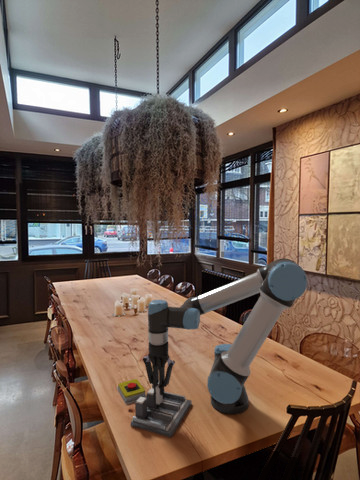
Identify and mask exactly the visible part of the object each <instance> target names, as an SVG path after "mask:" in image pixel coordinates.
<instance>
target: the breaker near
mask: <svg viewBox="0 0 360 480" xmlns="http://www.w3.org/2000/svg"><path fill="white" fill-rule="evenodd" d="M134 405H135V406H134V410H135V412H134V416H136V417H139V418H143V419H145V418H146V416H147V415H148V410H147V399H146V398H144V397H140V398H139V399H138V400H137V401H136V402H134Z"/></svg>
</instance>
